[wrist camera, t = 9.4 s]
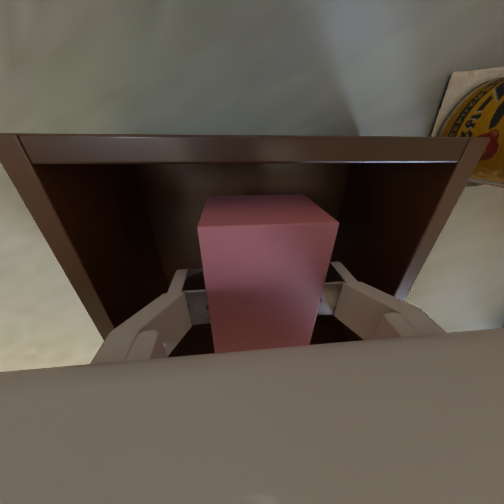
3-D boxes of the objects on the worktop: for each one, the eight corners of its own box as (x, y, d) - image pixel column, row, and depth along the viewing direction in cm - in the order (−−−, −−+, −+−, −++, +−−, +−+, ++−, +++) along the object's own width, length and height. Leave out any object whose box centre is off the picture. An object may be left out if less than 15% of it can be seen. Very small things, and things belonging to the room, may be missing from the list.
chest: (118, 134, 12) (-18, 133, 5) (361, 136, 13) (492, 137, 7) (166, 299, 19) (131, 389, 12) (323, 290, 20) (370, 365, 14)
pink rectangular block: (207, 195, 9) (196, 226, 6) (303, 193, 9) (340, 222, 6) (219, 307, 13) (216, 362, 10) (288, 302, 13) (307, 354, 10)
